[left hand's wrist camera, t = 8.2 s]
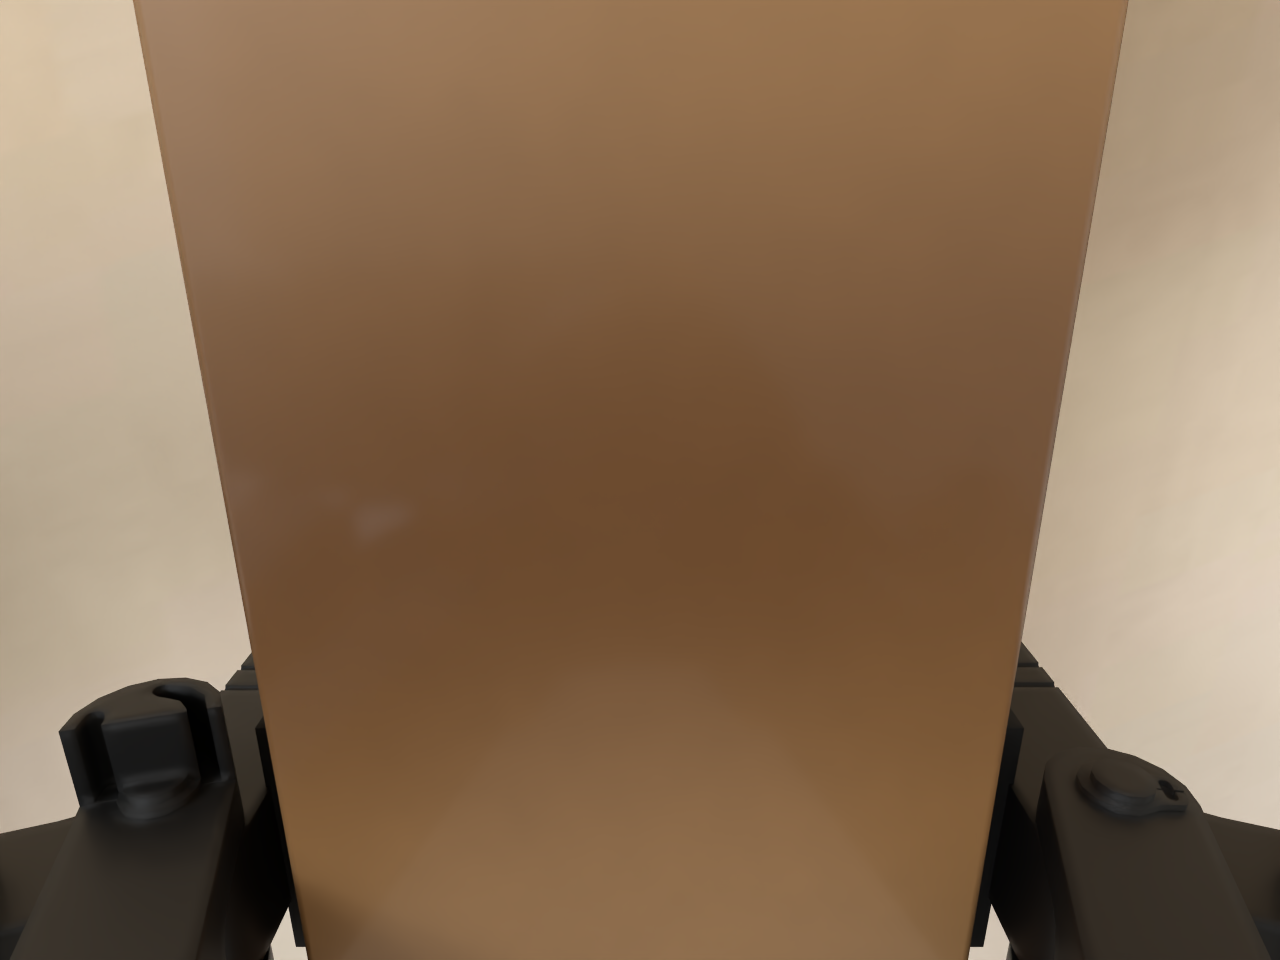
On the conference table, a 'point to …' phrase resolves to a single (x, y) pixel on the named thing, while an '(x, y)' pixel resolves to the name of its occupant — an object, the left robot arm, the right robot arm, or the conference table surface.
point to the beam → (634, 447)
